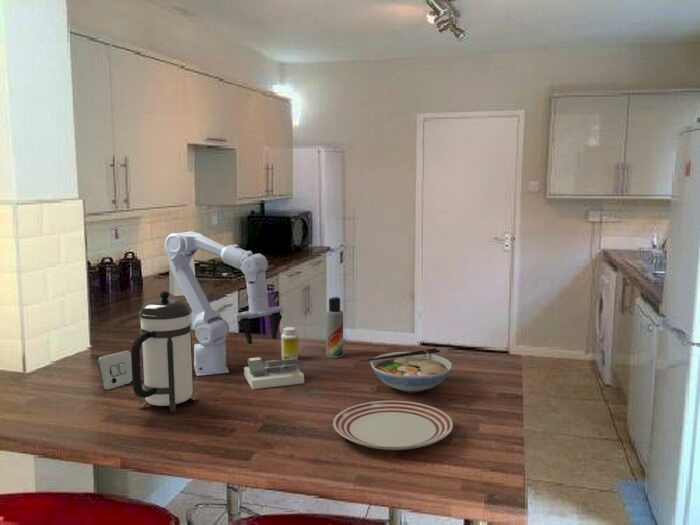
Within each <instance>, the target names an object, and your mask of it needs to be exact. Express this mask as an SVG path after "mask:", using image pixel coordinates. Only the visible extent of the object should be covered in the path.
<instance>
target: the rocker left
mask: <svg viewBox="0 0 700 525" xmlns="http://www.w3.org/2000/svg"><path fill="white" fill-rule="evenodd" d="M247 364H248V366H247V367H249V368H250V371H251V374H252V375H261V374H266V368H265V366H264V361H263V358H262V357H250V358H249V357H248V358H247Z"/></svg>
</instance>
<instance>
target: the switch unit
mask: <svg viewBox="0 0 700 525" xmlns="http://www.w3.org/2000/svg"><path fill="white" fill-rule="evenodd" d="M297 365H298V364H295V365H283V366H277V367H265V368H266V374H261V375H252V374H251V371H250V368H249V366H244V367H243V371H244V372H243V375H244V377H245V379H246V380H247V382H248V385H249V386H250V388H251V389H252V390H258V389H265V388H267V389H268V388H275V387H284V386H291V385H292V386H293V385H299V384H305V373H303V372H302V371H301V370H300V368H299V367H298V366H297Z"/></svg>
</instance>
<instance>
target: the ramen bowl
mask: <svg viewBox="0 0 700 525" xmlns="http://www.w3.org/2000/svg"><path fill="white" fill-rule="evenodd" d="M437 353H440V349H437V348H435V347H434V348H429V349H427V348H426V349H423V350H418V351H417V350H414V351H397V352H389V353H384V354H380V355H377V356H375V357H373V358H368V359H361V360H360V362H369V361H370V366H371V367H372V369H373V371H374V373H375V374H376V376H377V377H378V379H379V380H380V381H381V382H382V383H384V384H385V385H387V386H389V387H391V388H393V389H396V390H399V391H400V392H403V393H404V392H405V393H410V394H413V393H420V392H423V391H425V390H426V391H427V390H430V389H432V388H434V387H436V386H438V385H439V384H441V383H442V382H443V381H444V380H445V379H446V378H447V377H448V375H449V374H450V372H451V370H452V367H453V363H452V362H451V361H450V360H449V359H448V358H446V357H442V356H440V355H437Z"/></svg>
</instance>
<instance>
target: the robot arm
mask: <svg viewBox="0 0 700 525" xmlns="http://www.w3.org/2000/svg"><path fill="white" fill-rule="evenodd" d="M163 248H164V251H165V252H166V254H167V258H168V266H170V269H171V270H172V272H173V274H174V276H175V278H176V280H177V282H178V284H179V286H180V288H181V290H182V292H183V294H184V295H183V296H184V297H185V300H186V301H187V304H188V306H189V308H190V309H191V312H192V313H193V315H194V317H195V319H194V321H193V324H192V326H193V328H194V330H195V337H196V339H197V341H198V342H199V343H195V344H194V345H193V346H194V347H193V352H194V353H193V357H194V359H193V360H194V361H193V368H194V370H195V371H194V372H195V374H196V376H197V377H199V376H211V375H219V374H228V373H230V371H229V368H228V367H227V360H226V359H227V358H226V340H227V338H226V337H227V336H228V334H229V332H230V325H229V323H228V321H227V320H226V319H224V318H223V316H222V315H221V313H220V312H218V311H216V310H215V309H213V307H212V306H211V304H210V302H209V300H208V298H207V296H206V294H205V292H204V291H203V288H202V287H201V284H200V283H199V280H198V278H197V277H196V274H195V275H194V273H193V271H192V269H191V267H190V265H189V264H190V261H191V259H192V258H193V257H194V255H196V253H197V251H198V250H200V251H204V252H206V253H209V254H212V255H214V256H218V257H220V258H221V261H222V263H224V264H227V265H229V266H232V267H233V268H236V269H238V270H240V271H241V272H242V274H244V279H245V282H246V293H247V294H246V295H247V303H248V310H246V311H242V312H237V313H234V321H236V322H238V325H239V326H240V328H241V330H242V332H243V333H244V337H245V339H246V342H247V344H249V345H251V344H253V340H252V339H253V338H252V322H251V321H250V320H251V319H255V318H261V317H266V316H267V317H268V321H269V326H270V335H271V336H270V337H271V339H273V340H277V336H278V331H279V330H278V329H279V326H280V323H281V321H282V318H283V315H282V314H284V306H281V305H279V306H278V305H277V306H271V307H269V300H268V287H267V278H266V277H267V276H266V271H267V269H268V267H269V261H268V260H267V258H266V256H265V255H263V253H262V254H261V253H260V252H259V253H255V254H253V251H252V250H245V249H243V248H240V247H239V245H238V244H229V245H227V246H225V245H223V244H220V243H219V242H216V241H214V240H213V239H210V238H209V237H206V236H204V235H203V234H201V233H199V232H195V231H192V230H190V231H187V232H186V231H185V232H178V233H176V232H174V233H169V235H168V236H166V239H165V242H164V246H163Z"/></svg>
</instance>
